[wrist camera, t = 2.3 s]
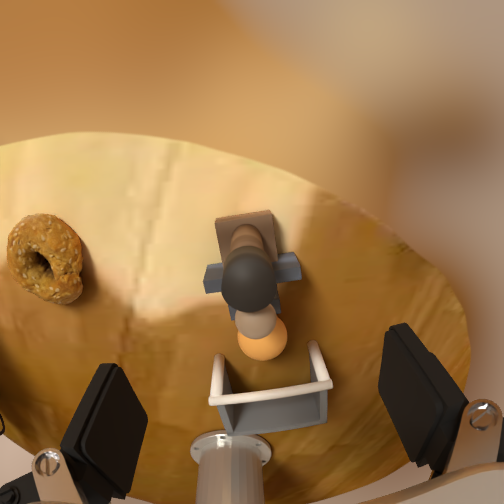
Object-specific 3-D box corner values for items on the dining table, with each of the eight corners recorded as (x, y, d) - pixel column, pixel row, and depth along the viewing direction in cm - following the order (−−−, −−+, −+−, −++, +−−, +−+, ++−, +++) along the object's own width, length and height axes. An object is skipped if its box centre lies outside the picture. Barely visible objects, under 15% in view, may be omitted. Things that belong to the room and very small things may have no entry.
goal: (318, 388, 36) (331, 431, 29) (227, 401, 36) (226, 446, 29) (317, 339, 33) (332, 382, 26) (213, 354, 34) (208, 400, 27)
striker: (295, 270, 30) (323, 340, 19) (211, 283, 30) (197, 358, 19) (288, 207, 28) (318, 247, 17) (198, 221, 28) (171, 270, 17)
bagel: (50, 308, 32) (31, 327, 27) (11, 230, 28) (-13, 241, 24) (106, 285, 31) (89, 305, 26) (64, 194, 27) (40, 202, 23)
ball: (286, 338, 33) (292, 366, 29) (242, 344, 33) (242, 373, 29) (281, 299, 32) (288, 325, 27) (234, 306, 32) (233, 333, 27)
